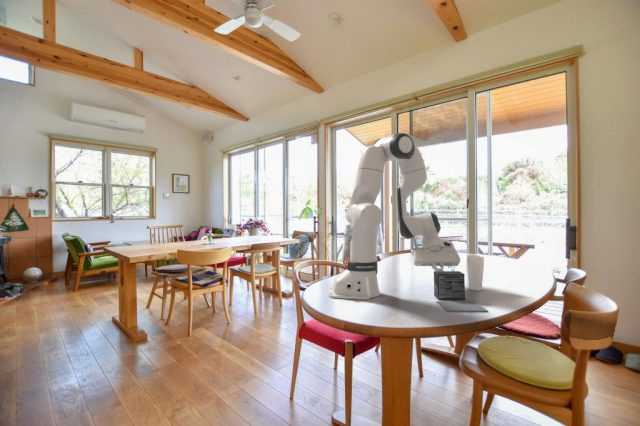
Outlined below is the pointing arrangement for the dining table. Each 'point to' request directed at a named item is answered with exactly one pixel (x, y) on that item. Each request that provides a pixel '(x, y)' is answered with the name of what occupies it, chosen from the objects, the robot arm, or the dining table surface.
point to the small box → (449, 285)
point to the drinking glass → (475, 271)
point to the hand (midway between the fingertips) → (440, 273)
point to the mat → (461, 306)
